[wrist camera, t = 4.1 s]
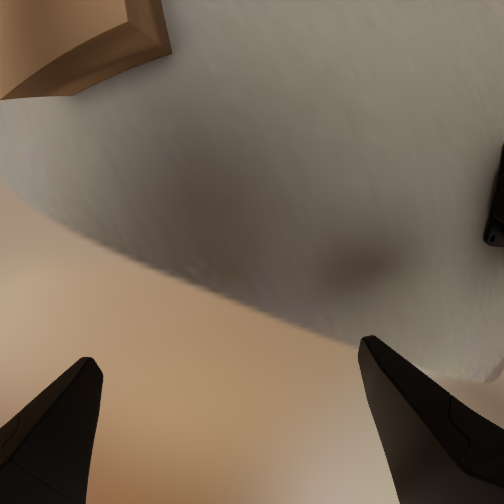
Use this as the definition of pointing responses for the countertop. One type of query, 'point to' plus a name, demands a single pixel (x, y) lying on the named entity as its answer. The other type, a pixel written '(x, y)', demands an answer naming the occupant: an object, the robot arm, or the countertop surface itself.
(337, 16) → the countertop surface
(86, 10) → the walnut cube
